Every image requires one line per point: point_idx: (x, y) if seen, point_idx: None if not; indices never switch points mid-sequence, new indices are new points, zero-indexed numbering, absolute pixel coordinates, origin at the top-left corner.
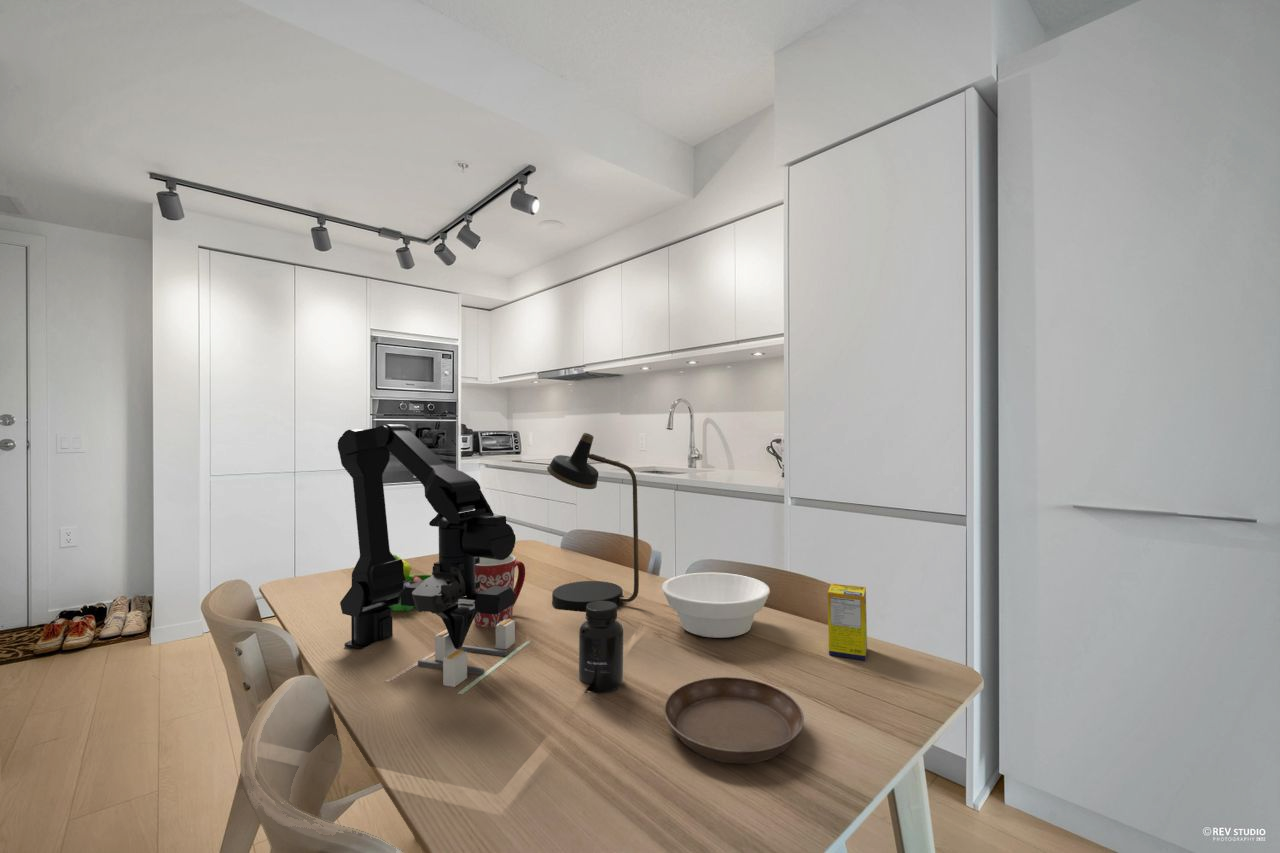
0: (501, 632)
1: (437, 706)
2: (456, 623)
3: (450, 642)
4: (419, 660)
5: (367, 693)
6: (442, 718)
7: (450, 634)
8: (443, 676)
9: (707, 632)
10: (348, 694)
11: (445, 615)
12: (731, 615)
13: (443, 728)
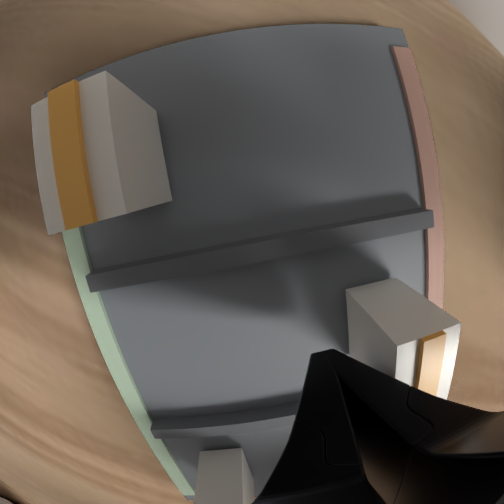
0: (214, 497)
1: (115, 54)
2: (338, 454)
3: (374, 362)
4: (432, 218)
5: (412, 28)
6: (59, 35)
7: (374, 378)
8: (142, 101)
9: (1, 502)
10: (444, 18)
11: (470, 452)
12: None
13: (34, 21)
